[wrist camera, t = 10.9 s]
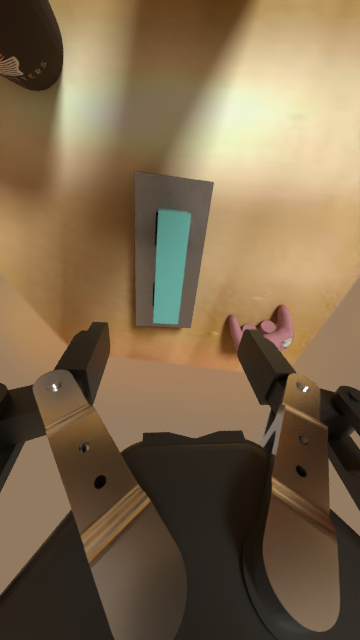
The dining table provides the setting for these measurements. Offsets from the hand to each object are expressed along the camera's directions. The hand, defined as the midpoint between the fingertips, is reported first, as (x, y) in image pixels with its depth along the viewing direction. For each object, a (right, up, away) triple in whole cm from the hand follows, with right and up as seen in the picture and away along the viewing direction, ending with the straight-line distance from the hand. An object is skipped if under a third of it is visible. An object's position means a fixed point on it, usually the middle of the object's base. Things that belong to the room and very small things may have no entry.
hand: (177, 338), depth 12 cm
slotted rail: (-2, +10, +16) cm, 19 cm away
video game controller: (+13, +1, +23) cm, 26 cm away
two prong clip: (-2, +9, +15) cm, 18 cm away
